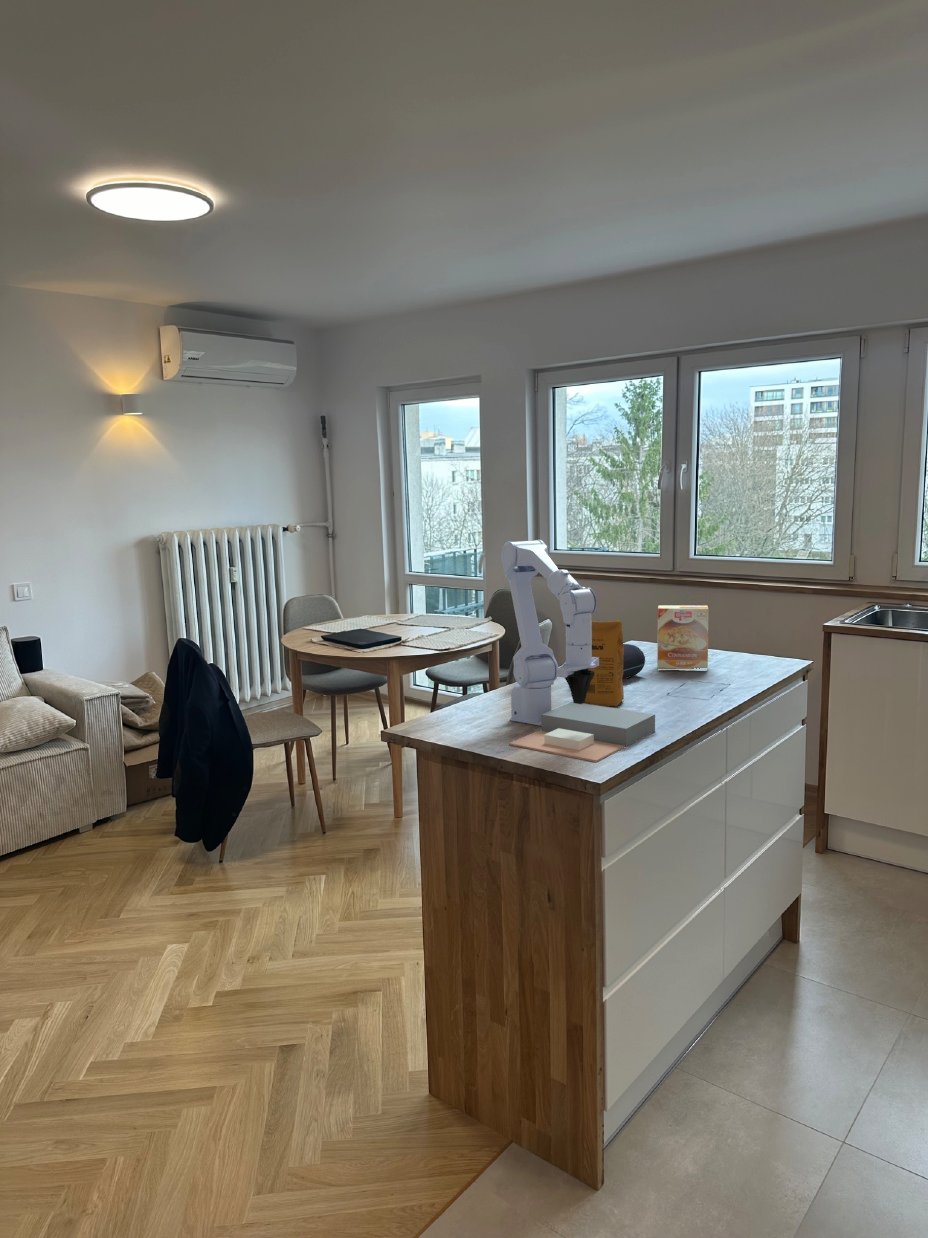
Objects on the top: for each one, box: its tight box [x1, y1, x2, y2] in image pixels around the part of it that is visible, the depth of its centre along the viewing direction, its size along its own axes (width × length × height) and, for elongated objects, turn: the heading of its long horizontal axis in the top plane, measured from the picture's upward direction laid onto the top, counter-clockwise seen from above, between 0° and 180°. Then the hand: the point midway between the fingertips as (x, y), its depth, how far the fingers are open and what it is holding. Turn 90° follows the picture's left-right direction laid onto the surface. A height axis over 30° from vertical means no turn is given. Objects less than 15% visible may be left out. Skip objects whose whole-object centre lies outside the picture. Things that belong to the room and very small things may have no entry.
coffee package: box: [584, 620, 625, 707], centre depth 222 cm, size 10×12×22 cm
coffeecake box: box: [656, 604, 710, 670], centre depth 259 cm, size 15×7×20 cm, turn 77°
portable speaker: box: [622, 643, 646, 680], centre depth 246 cm, size 25×10×10 cm, turn 135°
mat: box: [508, 730, 625, 763], centre depth 186 cm, size 22×12×1 cm, turn 52°
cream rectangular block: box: [544, 728, 594, 750], centre depth 186 cm, size 9×6×2 cm, turn 52°
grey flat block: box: [540, 701, 656, 747], centre depth 196 cm, size 22×14×4 cm, turn 52°
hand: (579, 703), depth 189 cm, fingers closed
